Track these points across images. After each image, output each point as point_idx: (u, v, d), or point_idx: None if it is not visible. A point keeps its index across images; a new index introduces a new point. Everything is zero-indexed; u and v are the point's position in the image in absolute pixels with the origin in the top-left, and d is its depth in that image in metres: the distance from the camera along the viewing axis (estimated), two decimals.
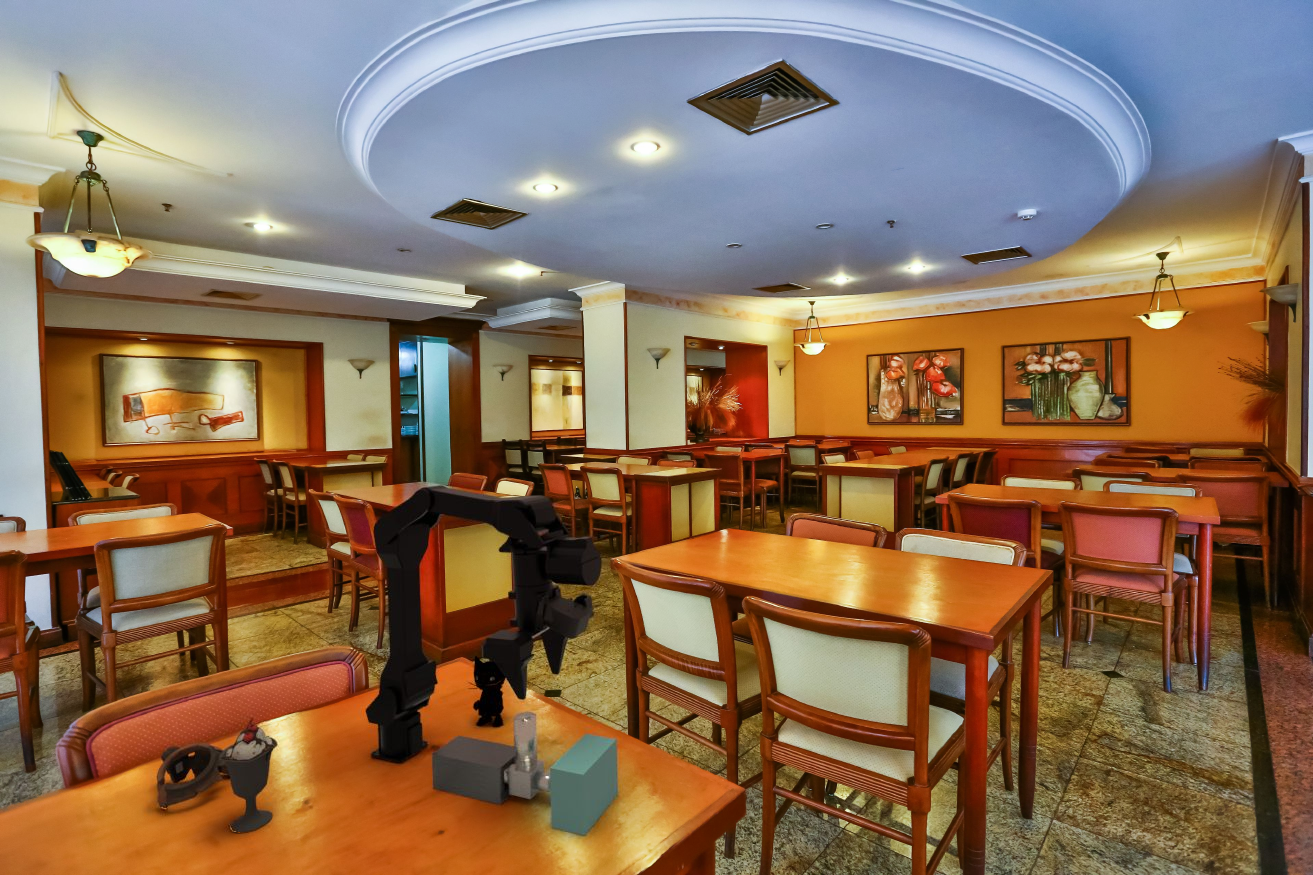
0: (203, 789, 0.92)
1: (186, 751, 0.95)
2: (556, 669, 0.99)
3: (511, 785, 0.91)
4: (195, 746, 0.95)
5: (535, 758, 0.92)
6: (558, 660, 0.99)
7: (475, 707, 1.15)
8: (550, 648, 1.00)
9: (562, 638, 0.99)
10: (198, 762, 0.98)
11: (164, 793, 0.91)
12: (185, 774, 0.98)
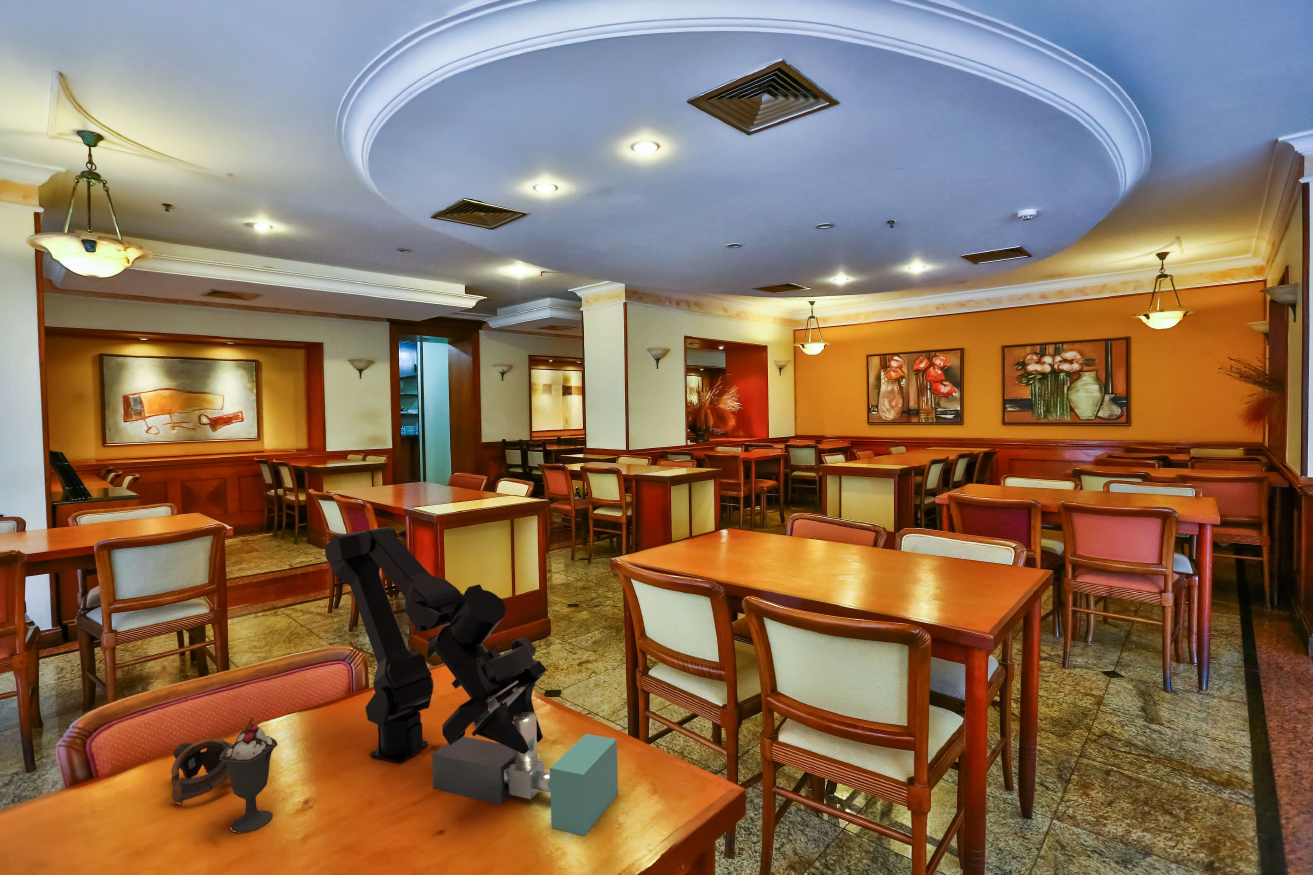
0: (218, 783, 0.93)
1: (199, 747, 0.96)
2: (537, 735, 0.93)
3: (511, 785, 0.91)
4: (208, 742, 0.96)
5: (535, 758, 0.92)
6: None
7: None
8: None
9: (523, 702, 0.95)
10: (210, 758, 1.00)
11: (179, 788, 0.92)
12: (197, 770, 0.99)
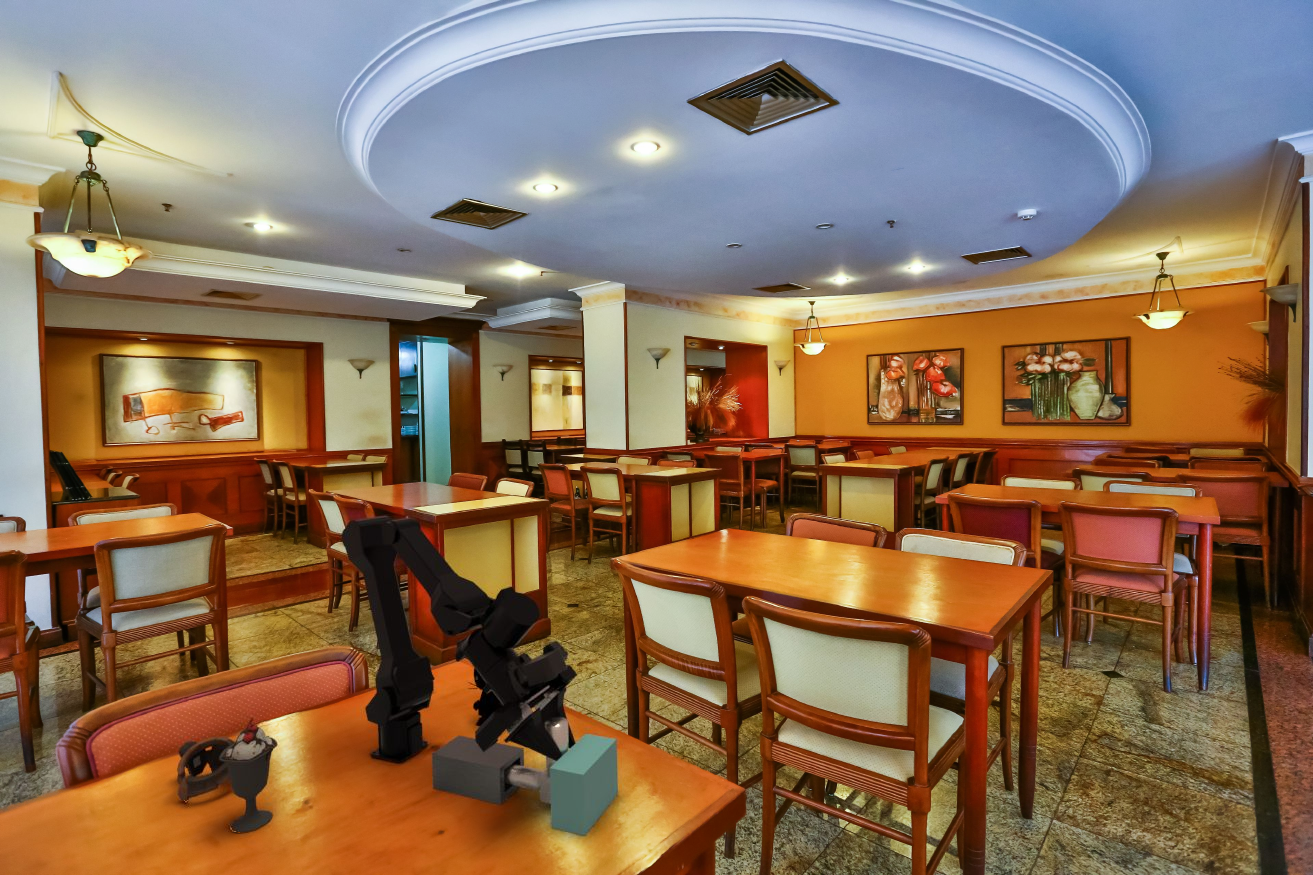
0: (224, 781, 0.94)
1: (205, 745, 0.97)
2: (570, 741, 0.91)
3: (543, 792, 0.89)
4: (214, 740, 0.97)
5: None
6: None
7: (475, 707, 1.15)
8: None
9: (555, 708, 0.93)
10: (215, 756, 1.00)
11: (185, 786, 0.92)
12: (202, 768, 0.99)
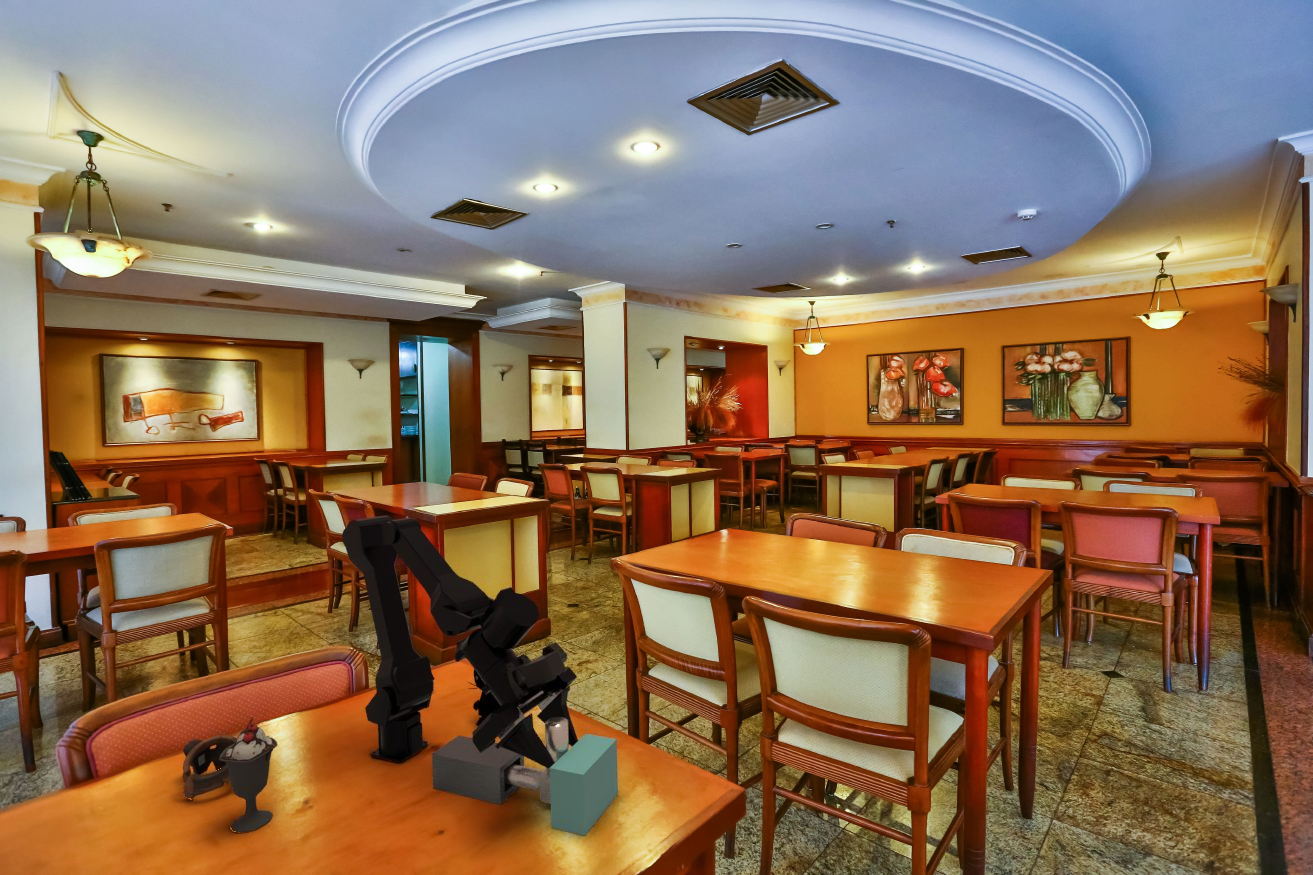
0: (229, 779, 0.94)
1: (210, 743, 0.97)
2: (573, 739, 0.92)
3: (543, 792, 0.89)
4: (218, 738, 0.98)
5: None
6: (569, 729, 0.92)
7: (475, 707, 1.15)
8: None
9: (559, 706, 0.93)
10: (219, 754, 1.01)
11: (191, 784, 0.93)
12: (207, 766, 1.00)
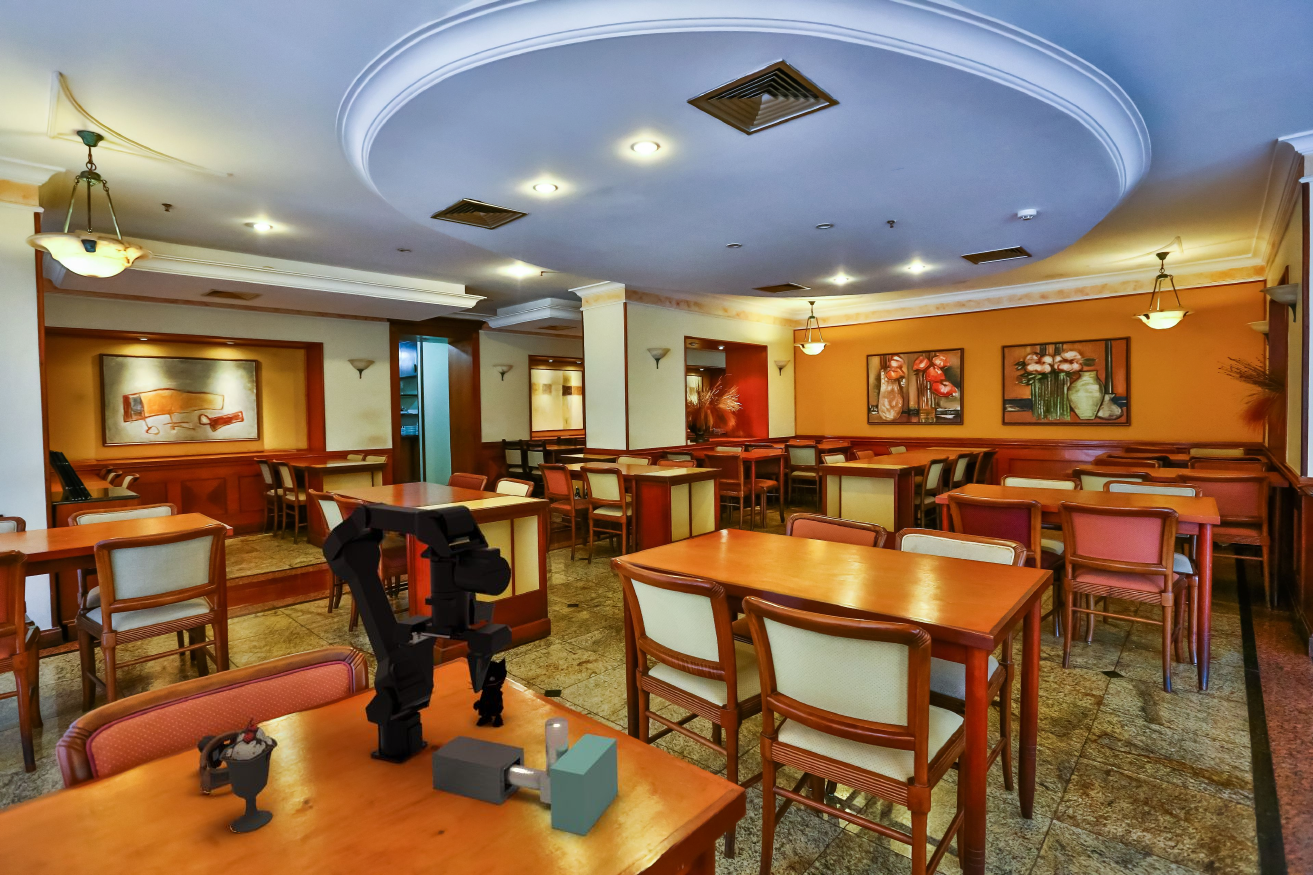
0: None
1: (225, 738, 0.99)
2: (431, 678, 1.01)
3: (543, 792, 0.89)
4: (233, 733, 0.99)
5: None
6: (432, 669, 1.02)
7: (475, 707, 1.15)
8: (424, 661, 1.00)
9: (432, 646, 1.02)
10: None
11: (208, 778, 0.94)
12: (221, 761, 1.01)
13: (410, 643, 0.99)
